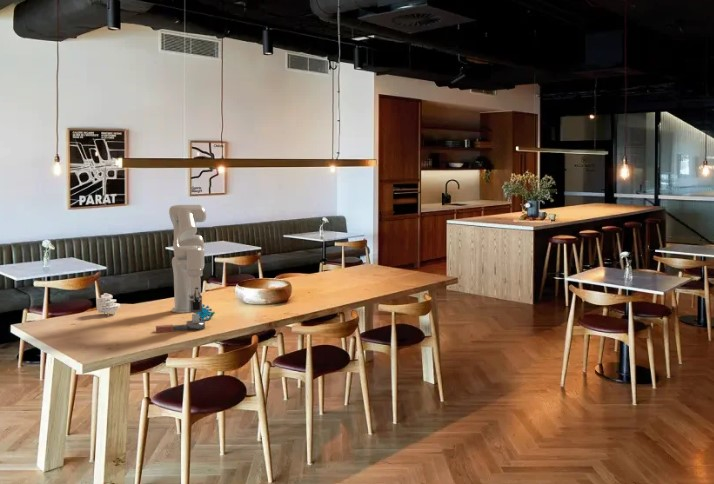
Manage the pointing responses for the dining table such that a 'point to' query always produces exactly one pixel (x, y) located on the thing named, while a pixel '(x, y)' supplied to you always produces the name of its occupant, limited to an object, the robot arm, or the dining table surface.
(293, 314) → the dining table surface
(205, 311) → the blue spiky virus model
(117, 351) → the dining table surface
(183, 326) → the ratchet
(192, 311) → the socket
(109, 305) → the mechanical part
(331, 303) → the dining table surface
